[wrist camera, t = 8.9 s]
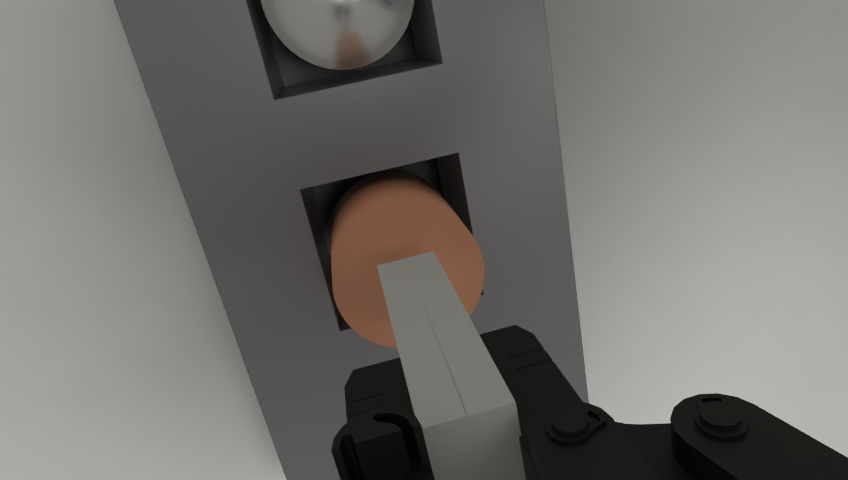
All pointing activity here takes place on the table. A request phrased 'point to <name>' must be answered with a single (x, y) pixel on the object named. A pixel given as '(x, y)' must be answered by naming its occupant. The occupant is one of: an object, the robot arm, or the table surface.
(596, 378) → the table surface
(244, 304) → the button console
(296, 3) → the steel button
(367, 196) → the terracotta button
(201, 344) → the table surface
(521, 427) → the robot arm
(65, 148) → the table surface
